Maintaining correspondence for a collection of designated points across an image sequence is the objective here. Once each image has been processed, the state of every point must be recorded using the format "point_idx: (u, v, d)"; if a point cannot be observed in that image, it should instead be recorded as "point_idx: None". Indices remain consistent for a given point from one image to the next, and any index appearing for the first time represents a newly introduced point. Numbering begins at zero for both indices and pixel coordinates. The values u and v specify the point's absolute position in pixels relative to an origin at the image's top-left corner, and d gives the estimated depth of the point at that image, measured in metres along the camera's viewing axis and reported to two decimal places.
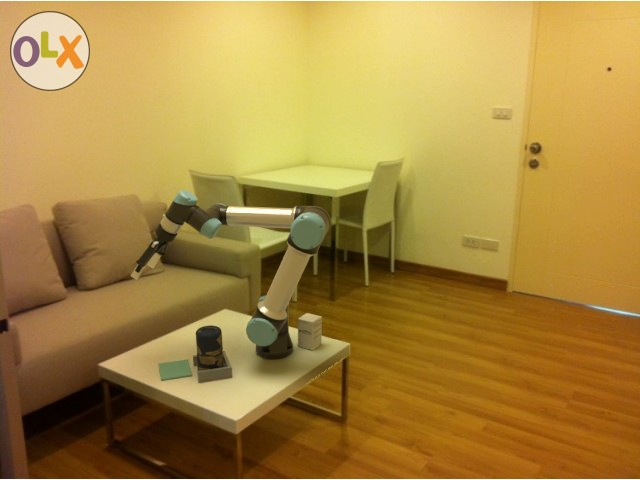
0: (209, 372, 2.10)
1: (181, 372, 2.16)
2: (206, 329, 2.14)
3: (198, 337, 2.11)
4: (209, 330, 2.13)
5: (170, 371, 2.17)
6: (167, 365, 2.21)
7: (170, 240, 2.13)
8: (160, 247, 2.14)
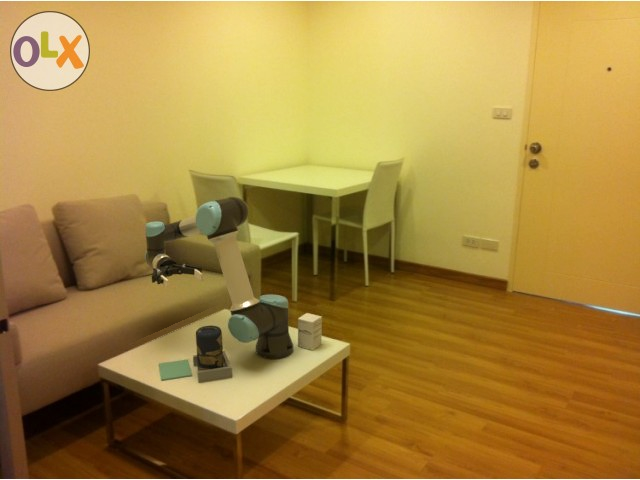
0: (209, 372, 2.10)
1: (181, 372, 2.16)
2: (206, 329, 2.14)
3: (198, 337, 2.11)
4: (209, 330, 2.13)
5: (170, 371, 2.17)
6: (167, 365, 2.21)
7: (162, 260, 2.33)
8: (164, 267, 2.29)
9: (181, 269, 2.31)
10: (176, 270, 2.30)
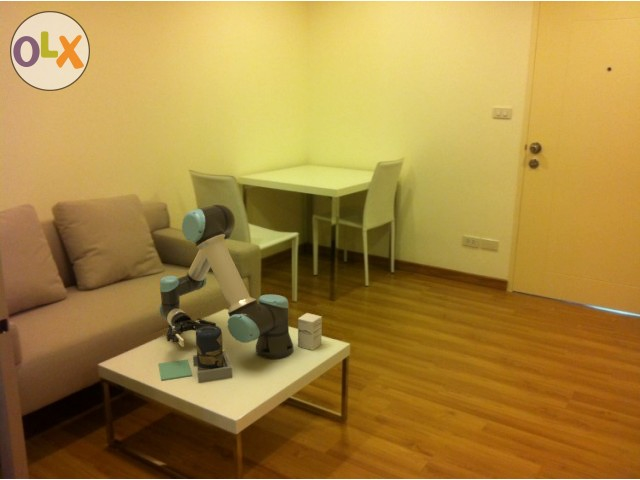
0: (209, 372, 2.10)
1: (181, 372, 2.16)
2: (206, 329, 2.14)
3: (198, 337, 2.11)
4: (209, 330, 2.13)
5: (170, 371, 2.17)
6: (167, 365, 2.21)
7: (177, 316, 2.35)
8: (179, 324, 2.32)
9: (196, 325, 2.33)
10: (191, 326, 2.32)
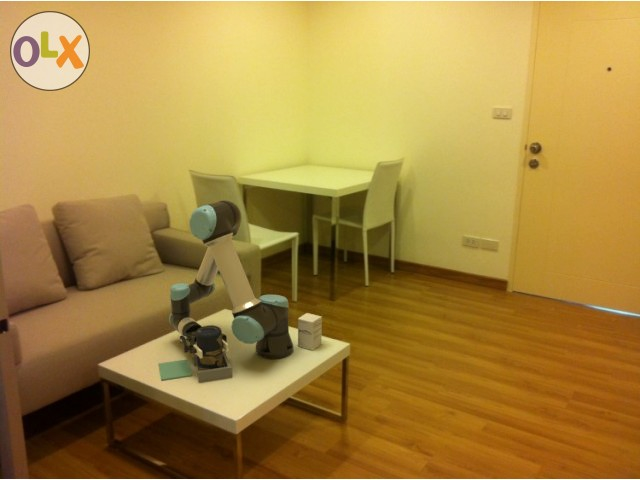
0: (209, 372, 2.10)
1: (181, 372, 2.16)
2: (206, 329, 2.14)
3: (198, 337, 2.11)
4: (209, 330, 2.13)
5: (170, 371, 2.17)
6: (167, 365, 2.21)
7: (188, 325, 2.26)
8: (192, 334, 2.22)
9: None
10: None
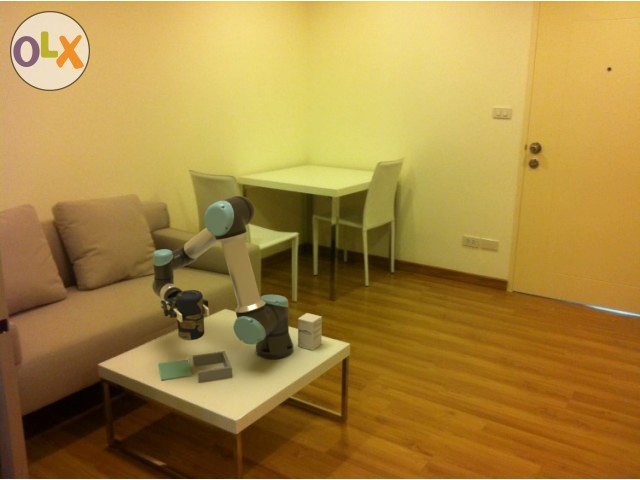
0: (209, 372, 2.10)
1: (181, 372, 2.16)
2: (187, 293, 2.11)
3: (178, 300, 2.08)
4: (190, 294, 2.10)
5: (170, 371, 2.17)
6: (167, 365, 2.21)
7: (170, 291, 2.23)
8: (173, 299, 2.20)
9: None
10: None
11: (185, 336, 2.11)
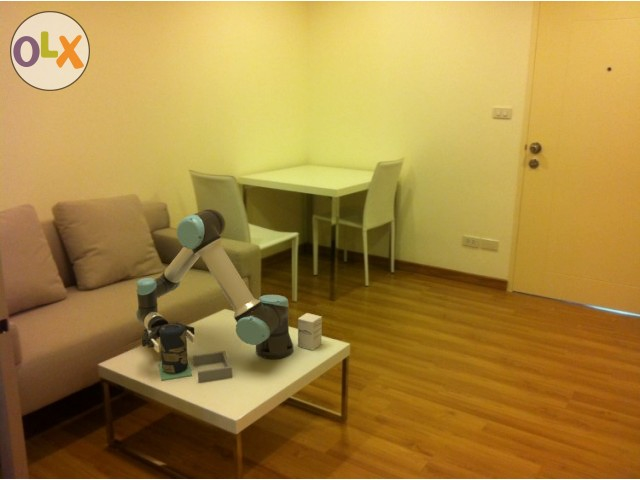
0: (209, 372, 2.10)
1: (181, 372, 2.16)
2: (170, 326, 2.15)
3: (161, 334, 2.11)
4: (173, 327, 2.14)
5: None
6: None
7: (154, 320, 2.26)
8: (156, 328, 2.23)
9: None
10: None
11: (169, 369, 2.14)
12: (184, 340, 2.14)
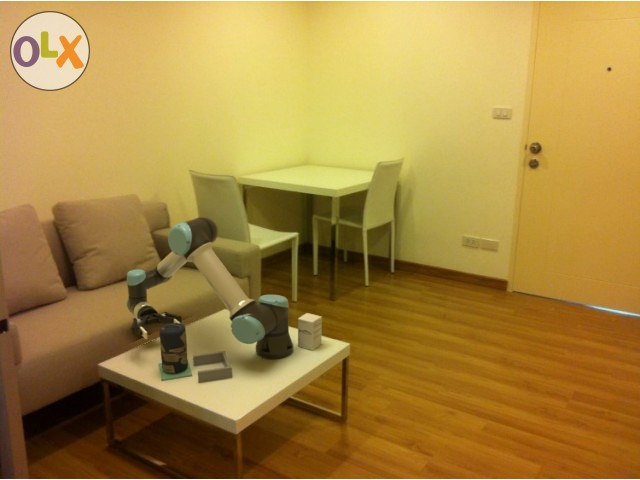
0: (209, 372, 2.10)
1: (181, 372, 2.16)
2: (170, 326, 2.15)
3: (161, 334, 2.11)
4: (173, 327, 2.14)
5: None
6: None
7: (143, 309, 2.36)
8: (145, 317, 2.33)
9: (161, 318, 2.34)
10: (156, 319, 2.34)
11: (169, 369, 2.14)
12: (184, 340, 2.14)
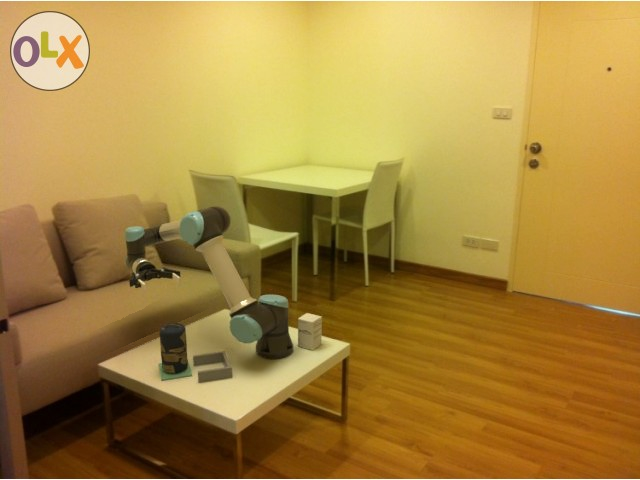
0: (209, 372, 2.10)
1: (181, 372, 2.16)
2: (170, 326, 2.15)
3: (161, 334, 2.11)
4: (173, 327, 2.14)
5: None
6: None
7: (141, 264, 2.35)
8: (143, 271, 2.32)
9: (160, 273, 2.33)
10: (155, 274, 2.32)
11: (169, 369, 2.14)
12: (184, 340, 2.14)
